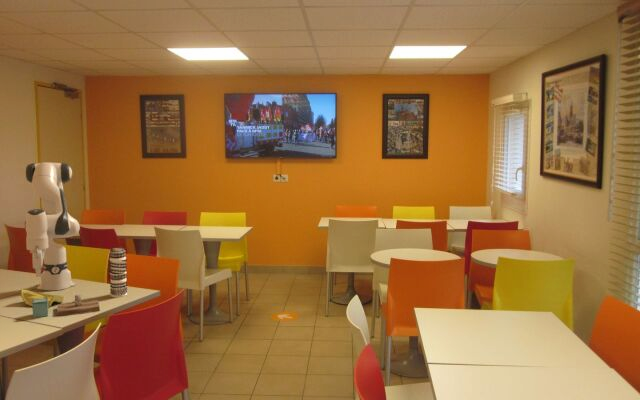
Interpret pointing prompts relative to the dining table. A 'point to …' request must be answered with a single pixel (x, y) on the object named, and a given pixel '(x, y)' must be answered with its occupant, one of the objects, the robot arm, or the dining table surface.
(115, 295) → the brown white cylinder
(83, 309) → the stub plate
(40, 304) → the housing cap
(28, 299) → the plastic component
